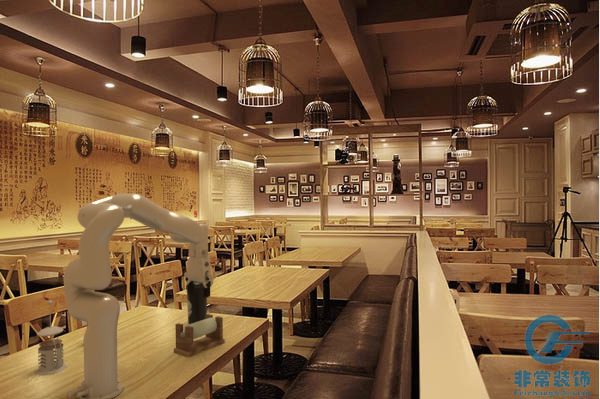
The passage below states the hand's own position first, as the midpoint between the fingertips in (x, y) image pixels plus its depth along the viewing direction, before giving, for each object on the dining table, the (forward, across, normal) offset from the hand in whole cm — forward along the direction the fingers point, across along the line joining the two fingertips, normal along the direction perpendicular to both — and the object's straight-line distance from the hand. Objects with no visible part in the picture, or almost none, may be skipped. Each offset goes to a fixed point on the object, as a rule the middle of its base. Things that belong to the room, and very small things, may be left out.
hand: (198, 295), depth 168 cm
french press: (+22, +27, +44) cm, 57 cm away
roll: (+14, -1, 0) cm, 14 cm away
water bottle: (+21, +23, -19) cm, 37 cm away
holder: (+21, 0, -1) cm, 21 cm away
